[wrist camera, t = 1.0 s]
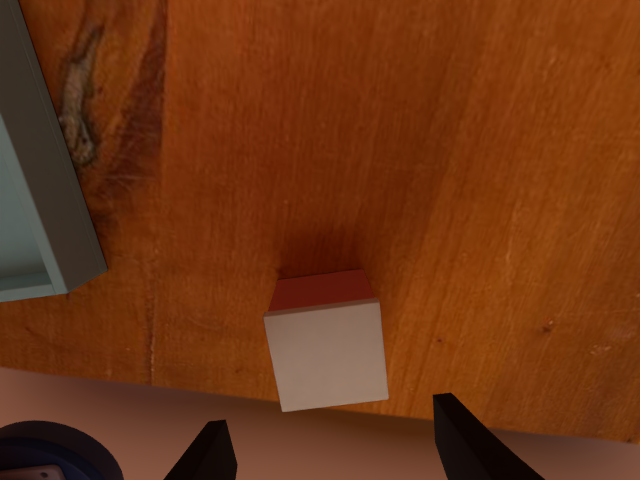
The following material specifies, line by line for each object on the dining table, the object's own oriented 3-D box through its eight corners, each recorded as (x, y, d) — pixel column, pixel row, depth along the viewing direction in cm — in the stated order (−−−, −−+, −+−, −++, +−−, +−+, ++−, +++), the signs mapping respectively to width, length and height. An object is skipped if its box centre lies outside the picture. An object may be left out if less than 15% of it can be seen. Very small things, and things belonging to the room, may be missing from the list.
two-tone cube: (289, 355, 20) (282, 412, 16) (275, 278, 18) (262, 317, 14) (373, 345, 20) (388, 399, 15) (364, 266, 18) (379, 302, 14)
